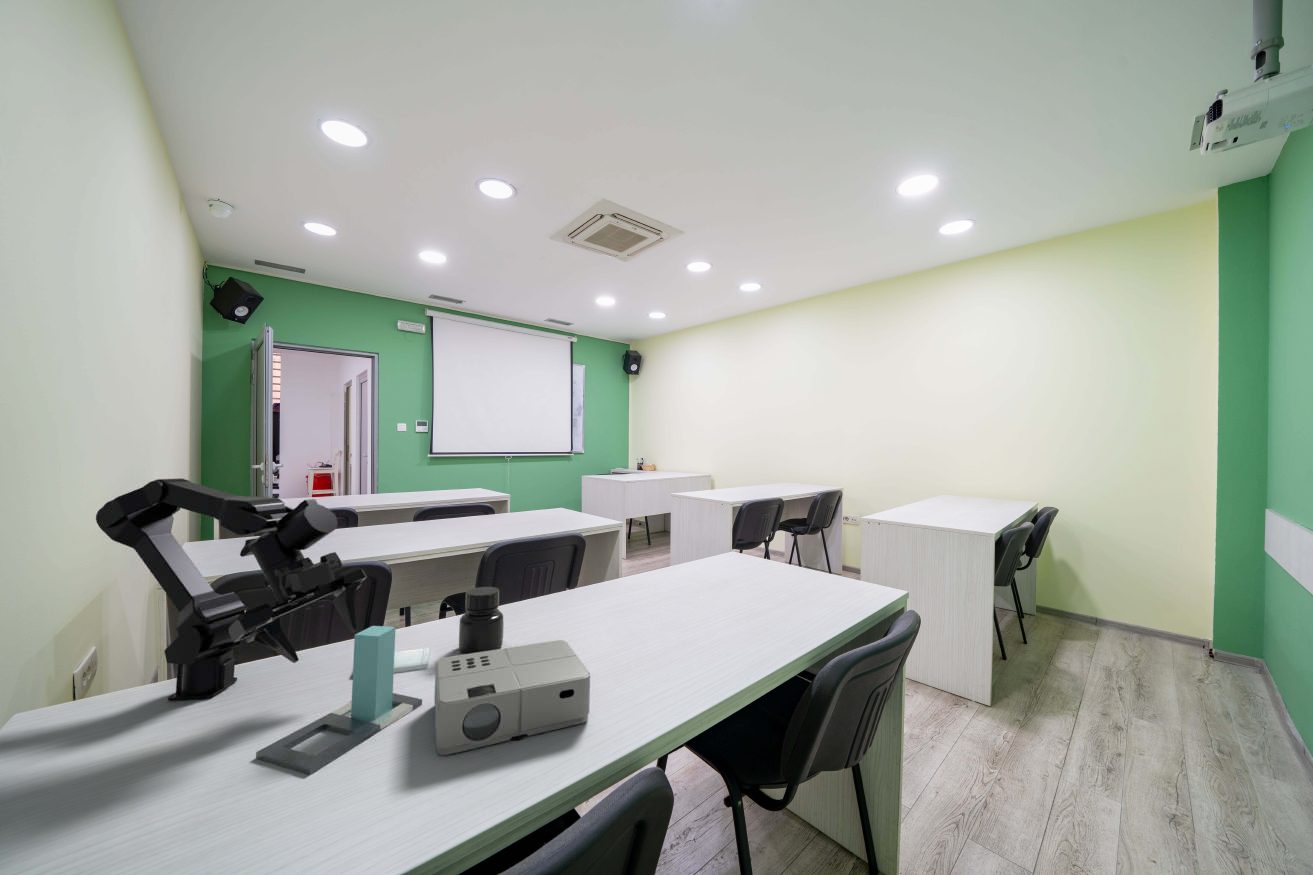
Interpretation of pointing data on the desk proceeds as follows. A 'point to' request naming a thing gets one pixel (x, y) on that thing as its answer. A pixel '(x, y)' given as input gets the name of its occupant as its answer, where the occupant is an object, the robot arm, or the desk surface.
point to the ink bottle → (481, 621)
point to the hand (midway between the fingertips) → (327, 645)
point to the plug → (373, 673)
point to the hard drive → (411, 660)
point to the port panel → (337, 723)
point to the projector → (508, 695)
